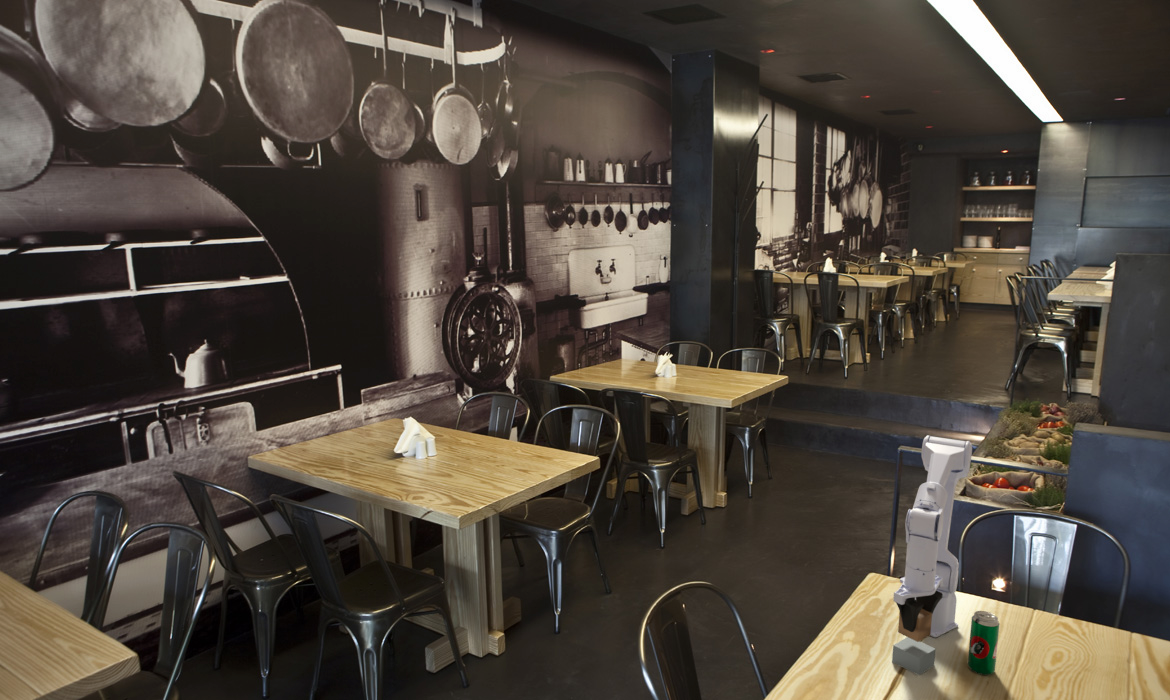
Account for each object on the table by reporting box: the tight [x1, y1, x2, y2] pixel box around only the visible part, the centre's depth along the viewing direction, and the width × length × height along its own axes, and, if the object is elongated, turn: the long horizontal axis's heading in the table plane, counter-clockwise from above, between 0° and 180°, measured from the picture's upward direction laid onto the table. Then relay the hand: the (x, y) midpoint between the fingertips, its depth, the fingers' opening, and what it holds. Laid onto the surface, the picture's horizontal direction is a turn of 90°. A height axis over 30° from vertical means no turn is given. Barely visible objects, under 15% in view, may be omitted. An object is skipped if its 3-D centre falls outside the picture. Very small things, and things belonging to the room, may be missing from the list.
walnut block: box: [897, 609, 932, 642], centre depth 155 cm, size 4×4×5 cm
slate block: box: [891, 636, 937, 676], centre depth 156 cm, size 6×6×4 cm
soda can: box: [967, 610, 1000, 676], centre depth 154 cm, size 5×5×12 cm
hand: (915, 626), depth 155 cm, fingers closed on walnut block, 4 cm apart
